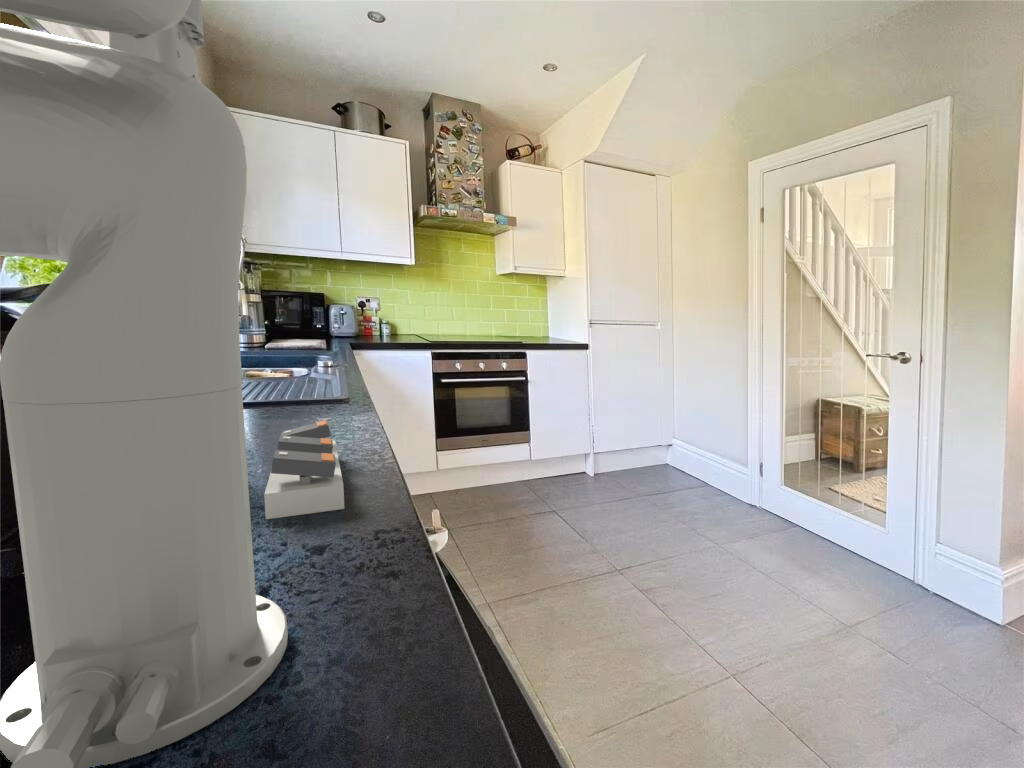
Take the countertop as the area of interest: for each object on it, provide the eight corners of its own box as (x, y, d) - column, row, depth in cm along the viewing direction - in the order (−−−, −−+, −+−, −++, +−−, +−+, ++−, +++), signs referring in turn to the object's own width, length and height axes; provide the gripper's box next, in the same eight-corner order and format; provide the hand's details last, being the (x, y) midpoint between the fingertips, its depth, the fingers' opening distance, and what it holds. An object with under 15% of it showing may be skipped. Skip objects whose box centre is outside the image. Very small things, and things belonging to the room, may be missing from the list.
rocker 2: (331, 458, 59) (333, 444, 59) (276, 454, 56) (278, 440, 56) (330, 451, 62) (332, 438, 62) (278, 447, 60) (280, 433, 60)
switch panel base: (344, 508, 51) (343, 476, 51) (265, 519, 48) (263, 485, 48) (335, 457, 71) (334, 434, 71) (280, 463, 68) (278, 438, 68)
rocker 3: (333, 477, 51) (336, 461, 51) (270, 473, 49) (273, 456, 49) (332, 468, 55) (334, 453, 55) (273, 464, 52) (276, 448, 52)
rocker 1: (331, 436, 66) (327, 423, 66) (283, 448, 64) (280, 435, 64) (330, 430, 69) (327, 419, 69) (285, 442, 67) (282, 430, 67)
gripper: (178, -41, 37) (196, 207, 39) (218, 63, 51) (231, 242, 53) (53, -68, 34) (79, 199, 36) (132, 49, 48) (148, 238, 50)
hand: (169, 224), depth 45 cm, fingers closed
